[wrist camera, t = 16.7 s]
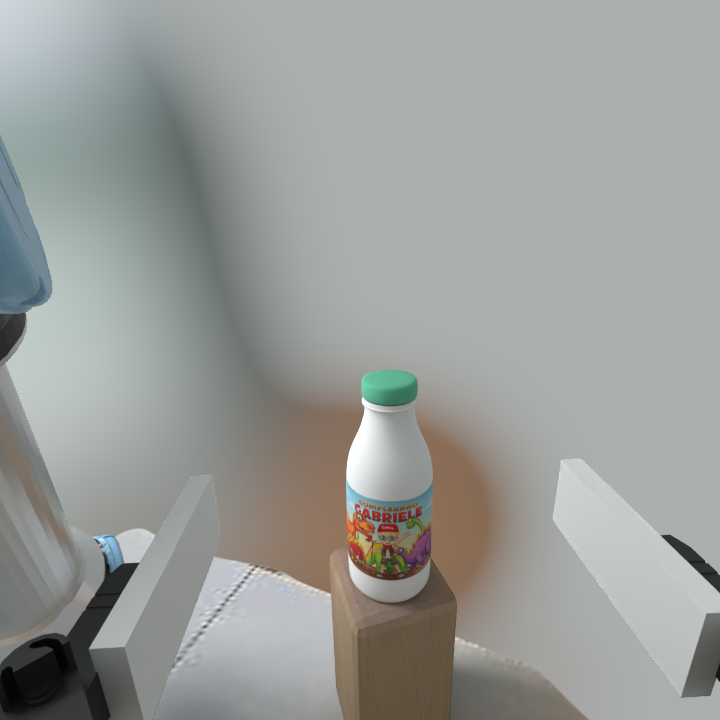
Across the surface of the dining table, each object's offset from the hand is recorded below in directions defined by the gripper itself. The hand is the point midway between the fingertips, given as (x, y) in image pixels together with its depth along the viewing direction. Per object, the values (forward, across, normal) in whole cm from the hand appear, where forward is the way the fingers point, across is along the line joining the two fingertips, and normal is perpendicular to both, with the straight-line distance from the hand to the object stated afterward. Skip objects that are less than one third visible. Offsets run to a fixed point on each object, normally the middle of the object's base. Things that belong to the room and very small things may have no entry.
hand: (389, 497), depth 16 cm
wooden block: (+19, +2, -42) cm, 46 cm away
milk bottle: (+19, +2, -22) cm, 29 cm away
